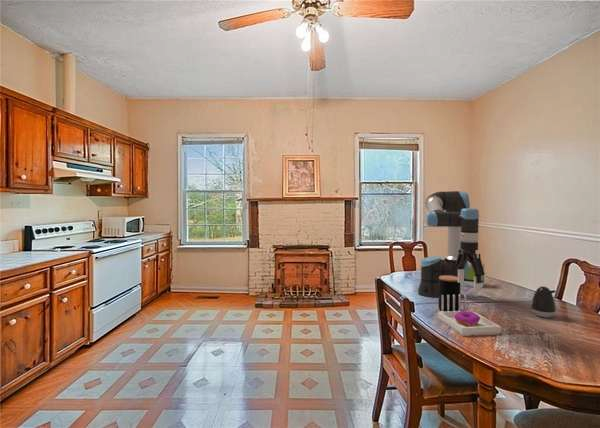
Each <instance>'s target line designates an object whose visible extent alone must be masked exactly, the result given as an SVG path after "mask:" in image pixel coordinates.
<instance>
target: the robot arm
mask: <svg viewBox="0 0 600 428" xmlns="http://www.w3.org/2000/svg"><path fill="white" fill-rule="evenodd" d="M469 197H470V196H469V194H468V192H466V191H461V190H459V191H458V190H457V191H456V190H454V191H452V190H451V191H450V190H449V191H448V190H447V191H437V192H434V193H432V194H430V195H428V196H427V198H425V202H424V206H425V208H426V210H427V211H428V212H427V213H426V216H425V217H426V226H428V227H433V228H435V227H437V228H439V227H446V228H447V252H446V253H447V254H445V256H444V259H442V258H441V257H440V256H428V257H423V258H422V259H421V261H420V283H419V285H418V287H417V294H418V293H419V295H420V296H422V295H423V297H428V298H439V280H440V279H439V276H444V275H448V276H456V277H458V283H464V279H465V277H466V276H467V272H468V263H471V265H472V268H473V270H474V273H475V275H474V287H473V290H474V291H481V290H482V289H481V276H483V275H484V276H485V275H486V274H485V269H484V270H483V266H482V264H483V262H482V259H481V253H477V251H478V250H479V223H480V222H479V220H480V219H479V218H480V214H479V213H480V212H479V209H478V208H471V207H470V206H471V204H470V203H471V202H470V198H469ZM481 272H482V273H481Z"/></svg>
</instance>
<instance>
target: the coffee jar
mask: <svg viewBox="0 0 600 428" xmlns="http://www.w3.org/2000/svg"><path fill="white" fill-rule="evenodd" d="M439 279H440V280H439V297H438V309H439V311H440V310H441V305H442V295H444V311H447V295H449V311H453V295H455V311H458V307H459V294H460V295H461V285H460V283H458V277H456V276H448V275H444V276H439Z"/></svg>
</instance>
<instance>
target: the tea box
mask: <svg viewBox="0 0 600 428" xmlns="http://www.w3.org/2000/svg"><path fill="white" fill-rule="evenodd" d="M482 266H483V270H484V271H485V265H484V264H483V263H482ZM481 273H482V272H481ZM474 275H475V273H474V270H473V268H472V265H471V263H469V262H468V272H467V276H466V277H465V279H464V283H460V287H461V286H462V287H471V288H474ZM484 285H485V275H483V276H481V288H484Z"/></svg>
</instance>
